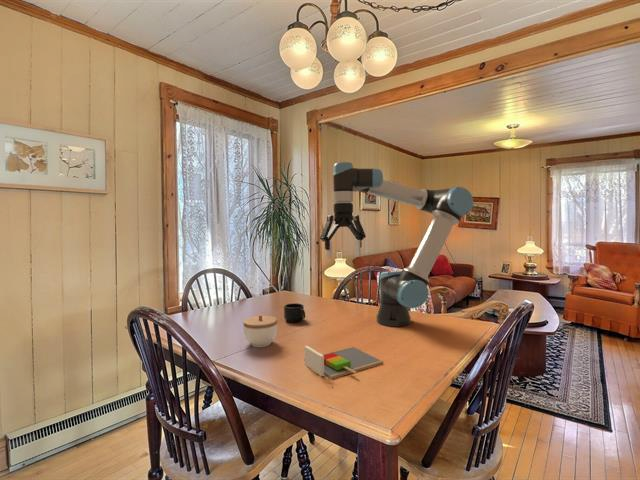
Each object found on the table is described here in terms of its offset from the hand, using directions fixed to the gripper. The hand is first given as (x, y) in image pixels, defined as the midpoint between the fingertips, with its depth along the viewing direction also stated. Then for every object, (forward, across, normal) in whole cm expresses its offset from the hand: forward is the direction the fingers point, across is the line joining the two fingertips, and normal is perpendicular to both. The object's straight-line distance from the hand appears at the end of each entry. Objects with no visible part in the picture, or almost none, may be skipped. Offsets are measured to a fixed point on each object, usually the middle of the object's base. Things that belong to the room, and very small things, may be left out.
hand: (343, 257), depth 137 cm
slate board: (+32, +15, +20) cm, 40 cm away
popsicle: (+31, +19, +24) cm, 44 cm away
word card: (+32, +26, +20) cm, 46 cm away
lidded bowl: (+32, +31, -11) cm, 46 cm away
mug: (+32, +6, -30) cm, 44 cm away
